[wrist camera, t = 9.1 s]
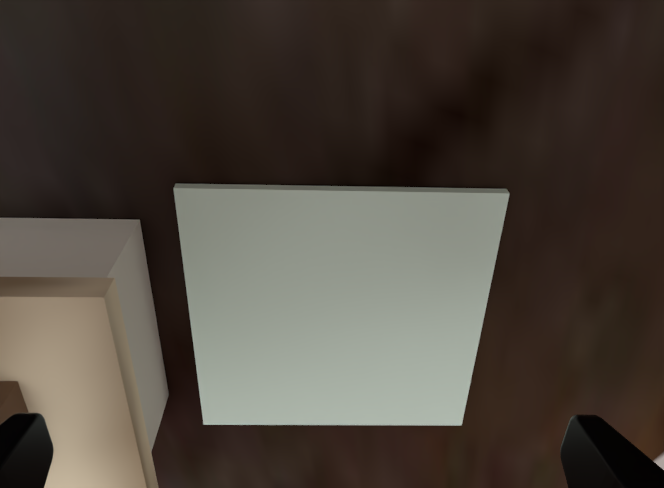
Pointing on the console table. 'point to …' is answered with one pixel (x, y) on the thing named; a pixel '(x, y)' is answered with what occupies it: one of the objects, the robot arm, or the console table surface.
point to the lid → (75, 379)
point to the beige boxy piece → (101, 262)
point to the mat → (336, 300)
